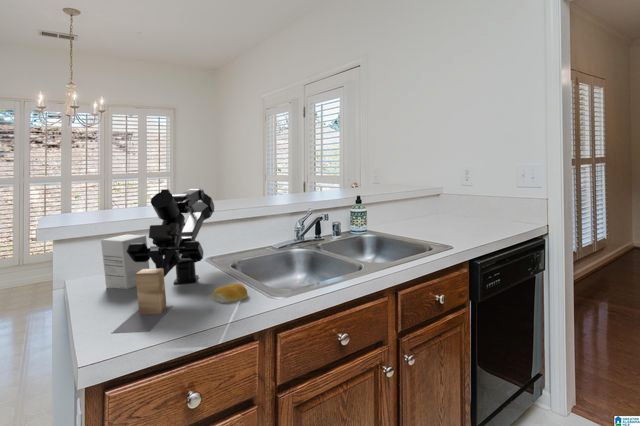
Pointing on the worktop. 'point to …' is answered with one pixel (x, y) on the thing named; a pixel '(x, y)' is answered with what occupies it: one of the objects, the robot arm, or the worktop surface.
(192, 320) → the worktop surface
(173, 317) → the worktop surface
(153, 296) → the oak block
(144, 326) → the mat
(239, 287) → the bread roll
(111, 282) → the supplement box
